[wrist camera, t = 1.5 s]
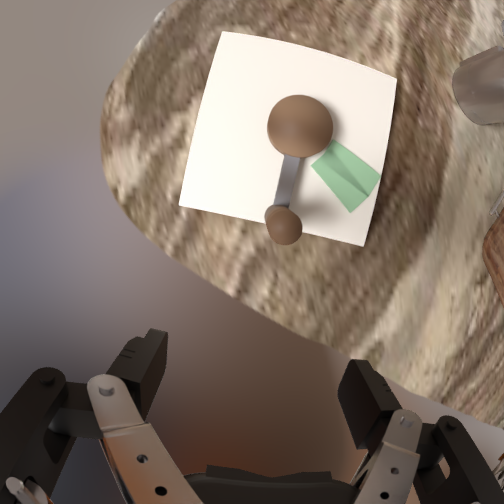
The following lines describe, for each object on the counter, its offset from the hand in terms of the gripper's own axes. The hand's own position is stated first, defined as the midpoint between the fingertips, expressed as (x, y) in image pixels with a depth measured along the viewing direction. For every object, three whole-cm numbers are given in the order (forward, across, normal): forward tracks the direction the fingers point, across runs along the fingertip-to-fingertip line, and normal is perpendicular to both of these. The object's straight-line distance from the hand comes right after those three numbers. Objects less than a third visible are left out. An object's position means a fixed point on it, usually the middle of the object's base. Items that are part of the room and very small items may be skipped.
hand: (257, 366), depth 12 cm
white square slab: (+22, -2, -14) cm, 26 cm away
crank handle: (+18, -2, -10) cm, 21 cm away
